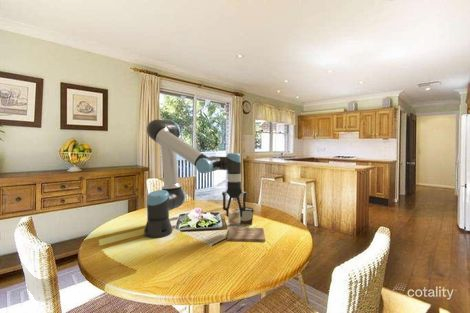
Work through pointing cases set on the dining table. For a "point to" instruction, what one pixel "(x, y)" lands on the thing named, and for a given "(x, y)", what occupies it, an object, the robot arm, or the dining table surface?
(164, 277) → the dining table surface
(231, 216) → the sanding block
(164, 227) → the robot arm
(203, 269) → the dining table surface
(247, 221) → the food container
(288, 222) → the dining table surface
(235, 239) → the board
